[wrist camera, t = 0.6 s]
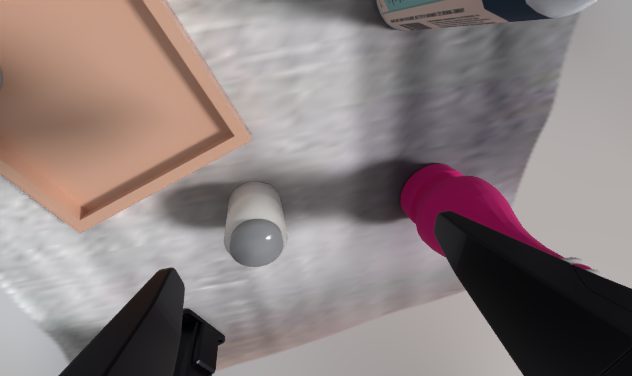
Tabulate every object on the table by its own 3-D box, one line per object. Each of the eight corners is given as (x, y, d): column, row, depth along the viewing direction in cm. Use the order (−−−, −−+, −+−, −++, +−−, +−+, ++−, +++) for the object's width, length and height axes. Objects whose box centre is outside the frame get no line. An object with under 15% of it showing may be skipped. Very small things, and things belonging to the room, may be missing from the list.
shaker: (246, 232, 24) (246, 280, 19) (217, 197, 22) (209, 241, 17) (289, 210, 24) (299, 252, 19) (264, 172, 21) (268, 209, 17)
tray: (91, 220, 20) (80, 233, 19) (-154, 25, 13) (-202, 23, 11) (251, 133, 20) (251, 140, 18) (91, -119, 12) (71, -139, 11)
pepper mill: (381, 197, 25) (654, 513, 8) (439, 143, 24) (917, 389, 7) (418, 231, 29) (667, 504, 12) (471, 185, 27) (844, 421, 10)
